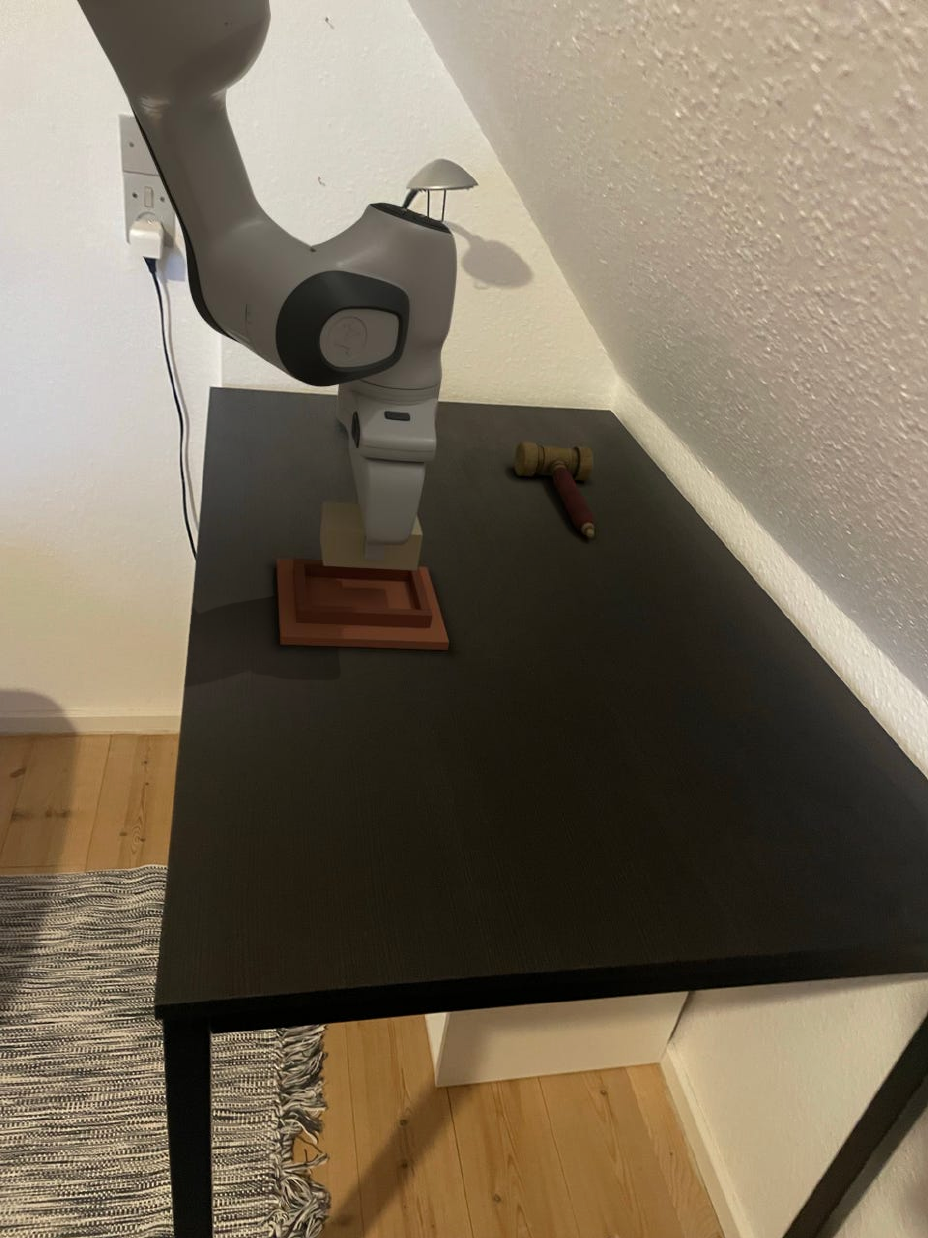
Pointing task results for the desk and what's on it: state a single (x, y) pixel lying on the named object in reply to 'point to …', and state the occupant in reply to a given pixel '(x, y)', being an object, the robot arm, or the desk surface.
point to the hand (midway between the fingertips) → (369, 538)
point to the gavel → (561, 476)
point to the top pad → (361, 541)
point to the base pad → (357, 607)
